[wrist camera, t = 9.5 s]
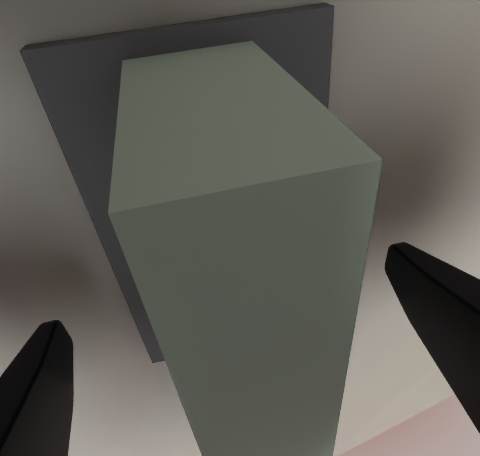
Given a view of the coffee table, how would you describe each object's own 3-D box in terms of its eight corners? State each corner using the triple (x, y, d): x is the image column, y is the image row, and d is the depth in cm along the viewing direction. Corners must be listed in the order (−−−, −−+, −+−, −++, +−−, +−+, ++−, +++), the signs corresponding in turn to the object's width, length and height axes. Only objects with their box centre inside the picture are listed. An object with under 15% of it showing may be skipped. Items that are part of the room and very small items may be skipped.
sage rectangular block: (268, 295, 14) (330, 465, 10) (190, 313, 14) (218, 498, 9) (252, 40, 9) (381, 159, 4) (122, 60, 8) (108, 213, 4)
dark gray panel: (325, 2, 9) (334, 5, 9) (310, 314, 17) (314, 323, 16) (24, 45, 8) (19, 51, 8) (152, 352, 16) (152, 363, 15)
